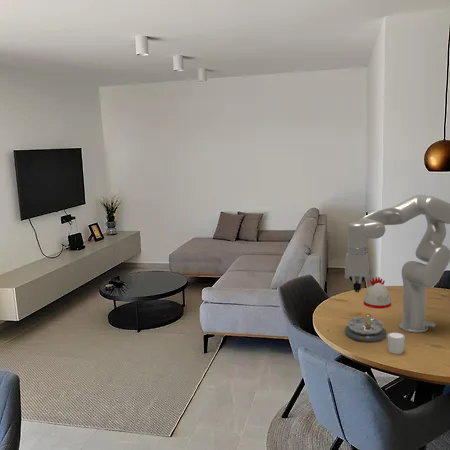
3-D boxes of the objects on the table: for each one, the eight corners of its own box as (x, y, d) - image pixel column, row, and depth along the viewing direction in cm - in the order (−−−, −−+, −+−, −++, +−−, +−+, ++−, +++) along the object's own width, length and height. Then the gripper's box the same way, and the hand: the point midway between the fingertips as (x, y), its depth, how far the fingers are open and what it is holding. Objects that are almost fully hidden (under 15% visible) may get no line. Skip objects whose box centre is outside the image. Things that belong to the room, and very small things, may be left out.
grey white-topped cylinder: (390, 346, 207) (391, 330, 206) (406, 350, 203) (407, 334, 201) (384, 352, 202) (384, 336, 201) (401, 356, 197) (401, 339, 196)
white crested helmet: (359, 301, 264) (359, 274, 262) (382, 298, 267) (382, 272, 264) (371, 309, 251) (372, 281, 248) (396, 306, 253) (396, 279, 251)
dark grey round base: (387, 329, 225) (387, 324, 225) (384, 344, 209) (384, 339, 208) (348, 324, 232) (348, 320, 232) (342, 339, 216) (342, 334, 215)
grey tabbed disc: (346, 323, 228) (346, 304, 226) (378, 323, 226) (378, 304, 225) (351, 336, 213) (351, 316, 212) (385, 336, 212) (386, 316, 210)
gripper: (375, 249, 210) (375, 289, 213) (339, 248, 214) (340, 288, 218) (374, 253, 203) (374, 295, 206) (338, 252, 207) (339, 293, 211)
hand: (357, 291), depth 212 cm, fingers closed
